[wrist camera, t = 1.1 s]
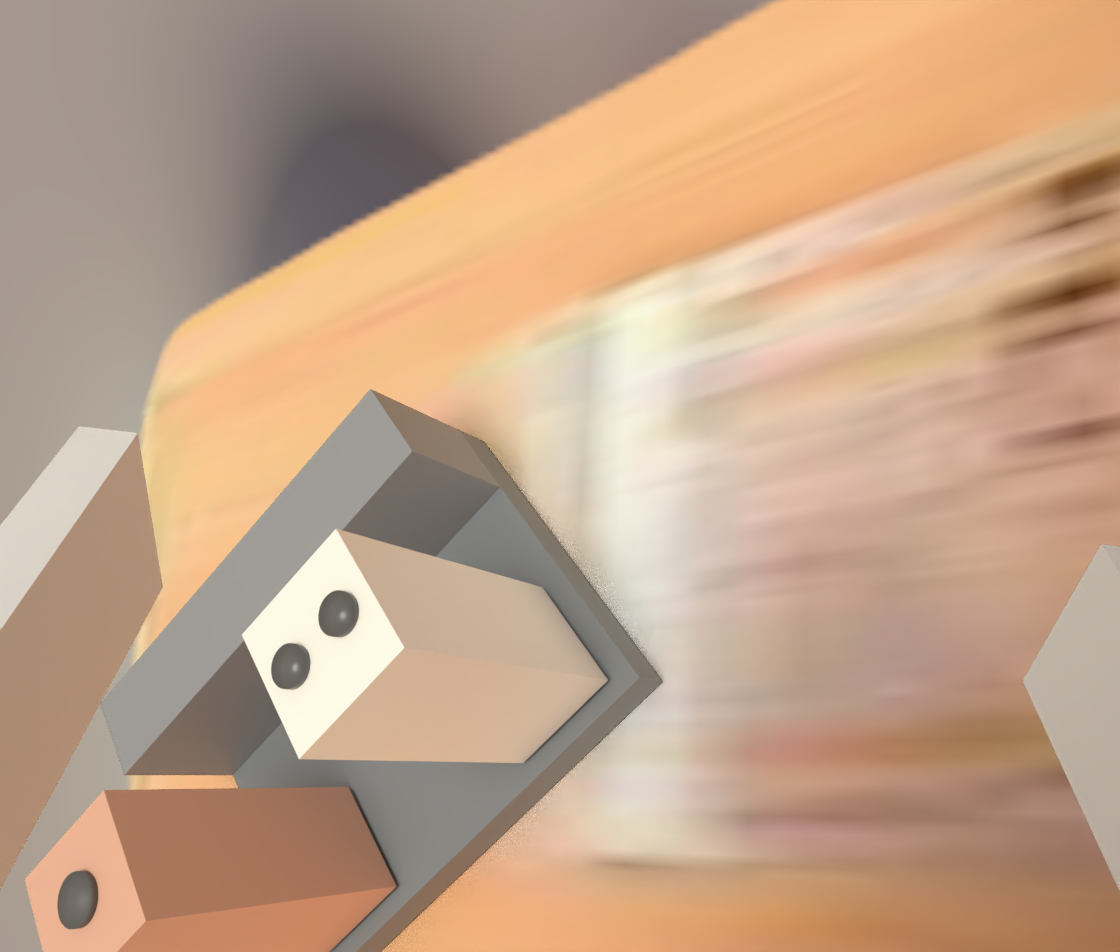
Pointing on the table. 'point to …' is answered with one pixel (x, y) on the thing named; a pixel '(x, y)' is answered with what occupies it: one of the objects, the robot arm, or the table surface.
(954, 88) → the table surface
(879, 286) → the table surface
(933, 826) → the table surface
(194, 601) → the grey l-shaped bracket
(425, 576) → the white block with dots
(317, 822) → the button terracotta
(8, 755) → the robot arm
